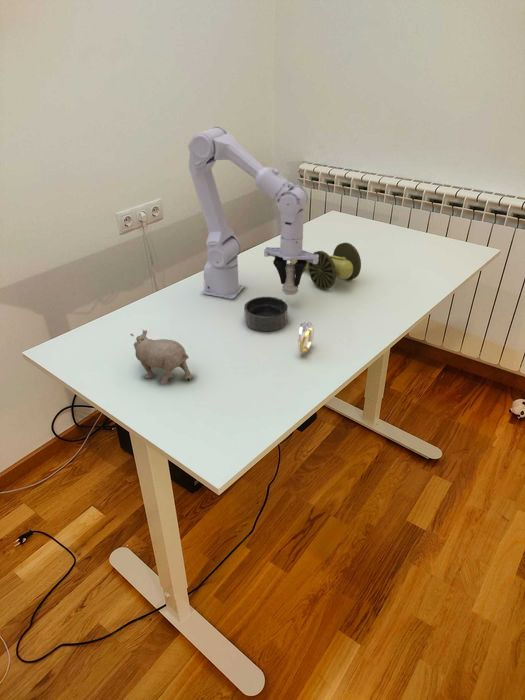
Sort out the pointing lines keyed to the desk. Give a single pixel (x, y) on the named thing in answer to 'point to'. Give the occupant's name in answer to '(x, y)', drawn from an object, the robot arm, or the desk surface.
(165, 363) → the brown animal figurine
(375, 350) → the desk surface
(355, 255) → the cannon
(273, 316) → the bowl
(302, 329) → the ring
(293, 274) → the rook chess piece
